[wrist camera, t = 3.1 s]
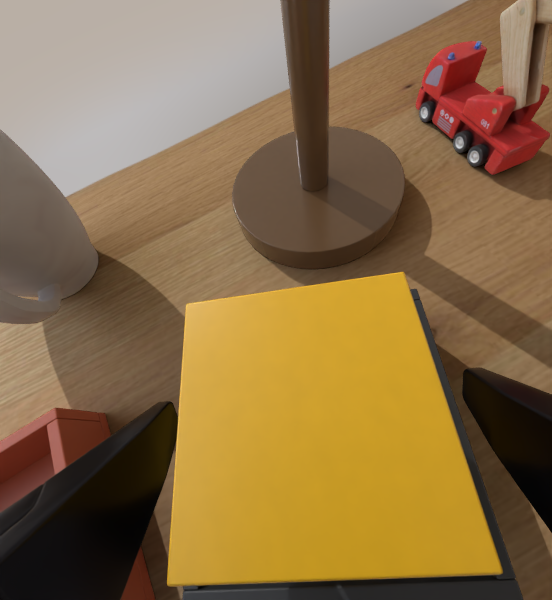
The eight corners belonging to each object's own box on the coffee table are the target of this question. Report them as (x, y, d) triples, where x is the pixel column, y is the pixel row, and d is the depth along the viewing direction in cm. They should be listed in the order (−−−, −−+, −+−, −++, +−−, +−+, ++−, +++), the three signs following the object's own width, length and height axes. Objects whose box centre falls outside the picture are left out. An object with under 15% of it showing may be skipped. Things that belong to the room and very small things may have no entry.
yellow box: (375, 475, 13) (506, 575, 4) (279, 482, 14) (165, 589, 4) (355, 377, 15) (404, 270, 6) (273, 387, 16) (185, 302, 6)
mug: (11, 260, 25) (-158, 164, 16) (105, 210, 25) (-8, 94, 17) (25, 382, 19) (-219, 336, 11) (143, 314, 20) (6, 221, 11)
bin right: (473, 561, 12) (526, 605, 9) (216, 571, 13) (180, 614, 10) (400, 316, 17) (417, 287, 14) (219, 340, 18) (195, 319, 15)
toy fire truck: (443, 95, 25) (504, -86, 16) (572, 198, 19) (783, -8, 10) (408, 109, 25) (451, -65, 16) (525, 217, 18) (696, 26, 10)
